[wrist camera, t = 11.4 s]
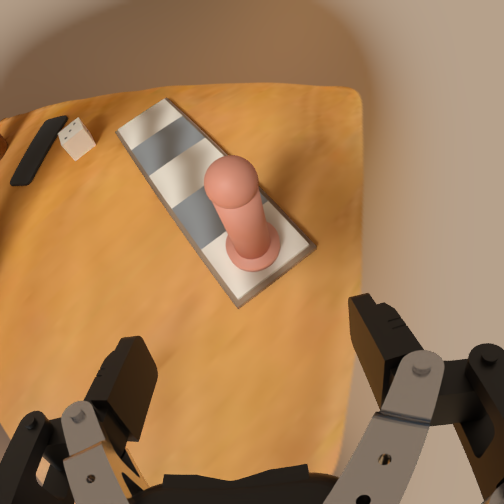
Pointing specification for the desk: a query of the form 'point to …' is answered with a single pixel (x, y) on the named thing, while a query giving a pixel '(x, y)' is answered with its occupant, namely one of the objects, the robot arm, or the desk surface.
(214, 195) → the pawn
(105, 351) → the desk surface
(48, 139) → the phone
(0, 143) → the disposable coffee cup
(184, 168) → the board
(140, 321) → the desk surface
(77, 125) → the die
